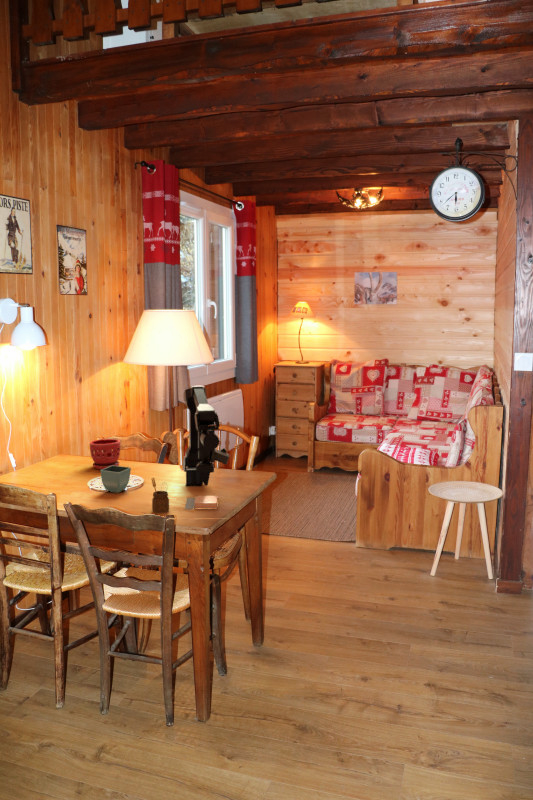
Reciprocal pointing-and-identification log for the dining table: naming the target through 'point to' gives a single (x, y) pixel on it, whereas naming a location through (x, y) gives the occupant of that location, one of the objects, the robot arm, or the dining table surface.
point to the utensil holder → (160, 500)
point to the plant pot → (105, 453)
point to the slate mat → (190, 503)
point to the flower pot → (115, 478)
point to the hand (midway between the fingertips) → (206, 485)
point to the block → (206, 502)
